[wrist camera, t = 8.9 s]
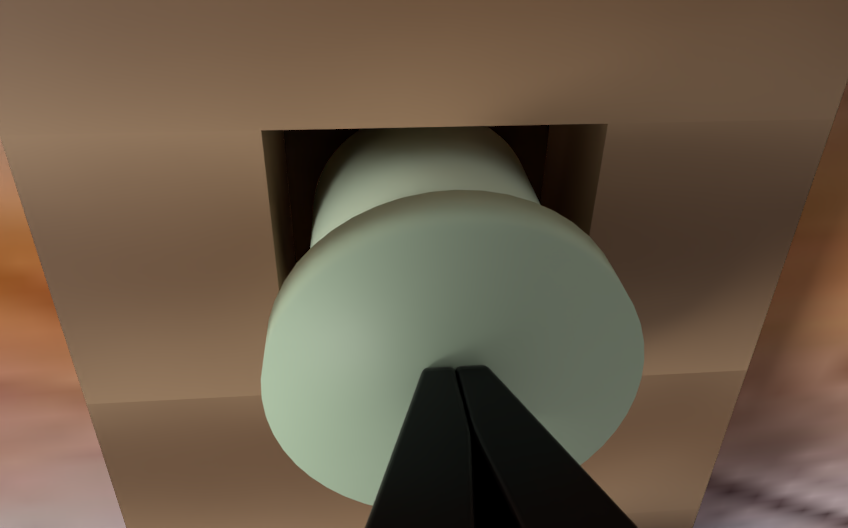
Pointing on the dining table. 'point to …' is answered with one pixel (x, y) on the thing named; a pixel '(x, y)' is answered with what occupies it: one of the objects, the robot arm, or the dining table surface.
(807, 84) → the walnut board
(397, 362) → the sage plug
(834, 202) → the dining table surface
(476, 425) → the robot arm
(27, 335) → the dining table surface
